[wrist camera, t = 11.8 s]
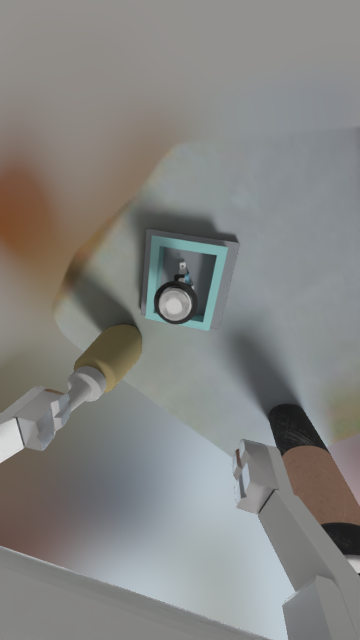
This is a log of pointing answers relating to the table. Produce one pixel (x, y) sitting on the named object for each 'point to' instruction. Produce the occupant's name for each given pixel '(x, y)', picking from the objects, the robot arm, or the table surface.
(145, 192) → the table surface
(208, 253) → the socket plate
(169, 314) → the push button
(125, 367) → the squeeze bottle
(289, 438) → the travel mug
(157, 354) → the table surface
